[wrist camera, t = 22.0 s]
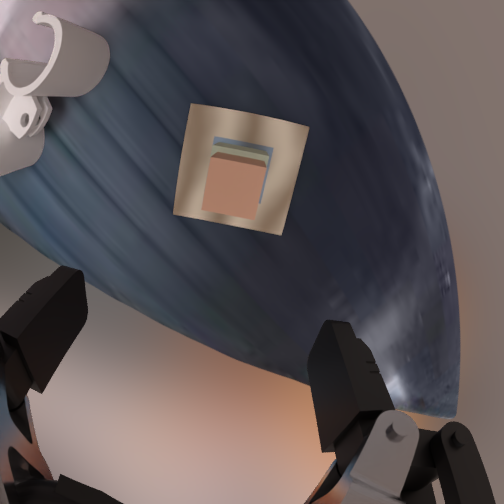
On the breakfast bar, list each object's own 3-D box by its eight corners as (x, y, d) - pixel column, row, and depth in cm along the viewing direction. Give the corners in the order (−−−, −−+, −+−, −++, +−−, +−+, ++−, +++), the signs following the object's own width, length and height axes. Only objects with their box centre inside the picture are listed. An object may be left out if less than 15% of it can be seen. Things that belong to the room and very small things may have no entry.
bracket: (30, 179, 35) (-19, 201, 24) (5, 143, 32) (-43, 157, 21) (122, 57, 29) (76, 39, 18) (90, 24, 26) (43, 3, 15)
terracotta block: (208, 196, 30) (201, 210, 26) (217, 151, 28) (210, 156, 24) (254, 205, 31) (254, 220, 26) (264, 161, 29) (266, 167, 24)
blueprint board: (174, 212, 38) (172, 214, 38) (192, 103, 32) (190, 103, 31) (280, 233, 40) (281, 235, 39) (308, 127, 33) (309, 127, 33)
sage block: (210, 187, 36) (202, 198, 31) (219, 141, 34) (212, 145, 28) (256, 196, 37) (256, 209, 31) (266, 151, 34) (269, 156, 29)
